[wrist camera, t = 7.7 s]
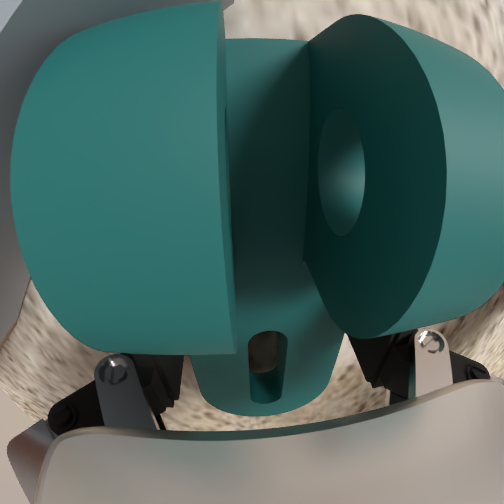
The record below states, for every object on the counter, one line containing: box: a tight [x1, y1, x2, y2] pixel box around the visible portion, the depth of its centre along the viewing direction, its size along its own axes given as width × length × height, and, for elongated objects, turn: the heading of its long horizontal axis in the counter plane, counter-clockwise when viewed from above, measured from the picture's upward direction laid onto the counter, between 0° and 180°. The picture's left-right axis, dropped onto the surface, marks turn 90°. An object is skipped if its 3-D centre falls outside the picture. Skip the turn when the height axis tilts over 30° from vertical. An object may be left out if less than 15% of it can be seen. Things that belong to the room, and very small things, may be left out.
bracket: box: [10, 1, 504, 416], centre depth 9 cm, size 18×7×8 cm, turn 1°
